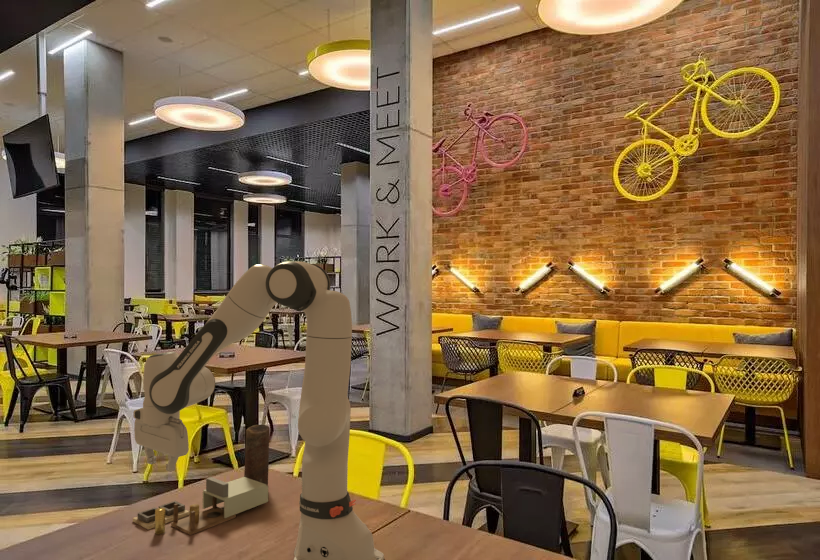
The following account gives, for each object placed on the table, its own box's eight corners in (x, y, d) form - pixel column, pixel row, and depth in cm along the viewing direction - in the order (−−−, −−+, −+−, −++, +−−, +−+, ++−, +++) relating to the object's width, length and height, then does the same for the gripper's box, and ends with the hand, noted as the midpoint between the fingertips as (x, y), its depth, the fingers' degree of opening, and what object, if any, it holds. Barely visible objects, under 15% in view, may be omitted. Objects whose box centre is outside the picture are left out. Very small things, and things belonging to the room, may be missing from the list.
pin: (166, 532, 149) (167, 509, 149) (158, 535, 147) (158, 512, 147) (161, 529, 150) (162, 507, 150) (153, 532, 148) (153, 509, 148)
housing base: (235, 517, 158) (236, 497, 158) (190, 535, 147) (190, 513, 147) (216, 509, 164) (216, 489, 164) (171, 525, 153) (171, 504, 153)
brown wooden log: (273, 488, 181) (273, 425, 180) (260, 496, 174) (261, 431, 174) (252, 485, 183) (252, 423, 183) (238, 493, 176) (239, 429, 176)
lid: (268, 501, 166) (268, 472, 166) (225, 518, 155) (225, 486, 155) (245, 493, 173) (245, 464, 173) (202, 508, 161) (202, 477, 161)
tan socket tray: (189, 514, 160) (189, 505, 160) (148, 529, 150) (148, 520, 150) (173, 507, 165) (173, 499, 165) (132, 521, 155) (132, 512, 155)
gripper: (195, 418, 145) (194, 472, 145) (152, 406, 157) (152, 456, 157) (172, 422, 140) (171, 479, 140) (129, 410, 152) (129, 462, 152)
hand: (160, 467), depth 149 cm, fingers open, 8 cm apart
